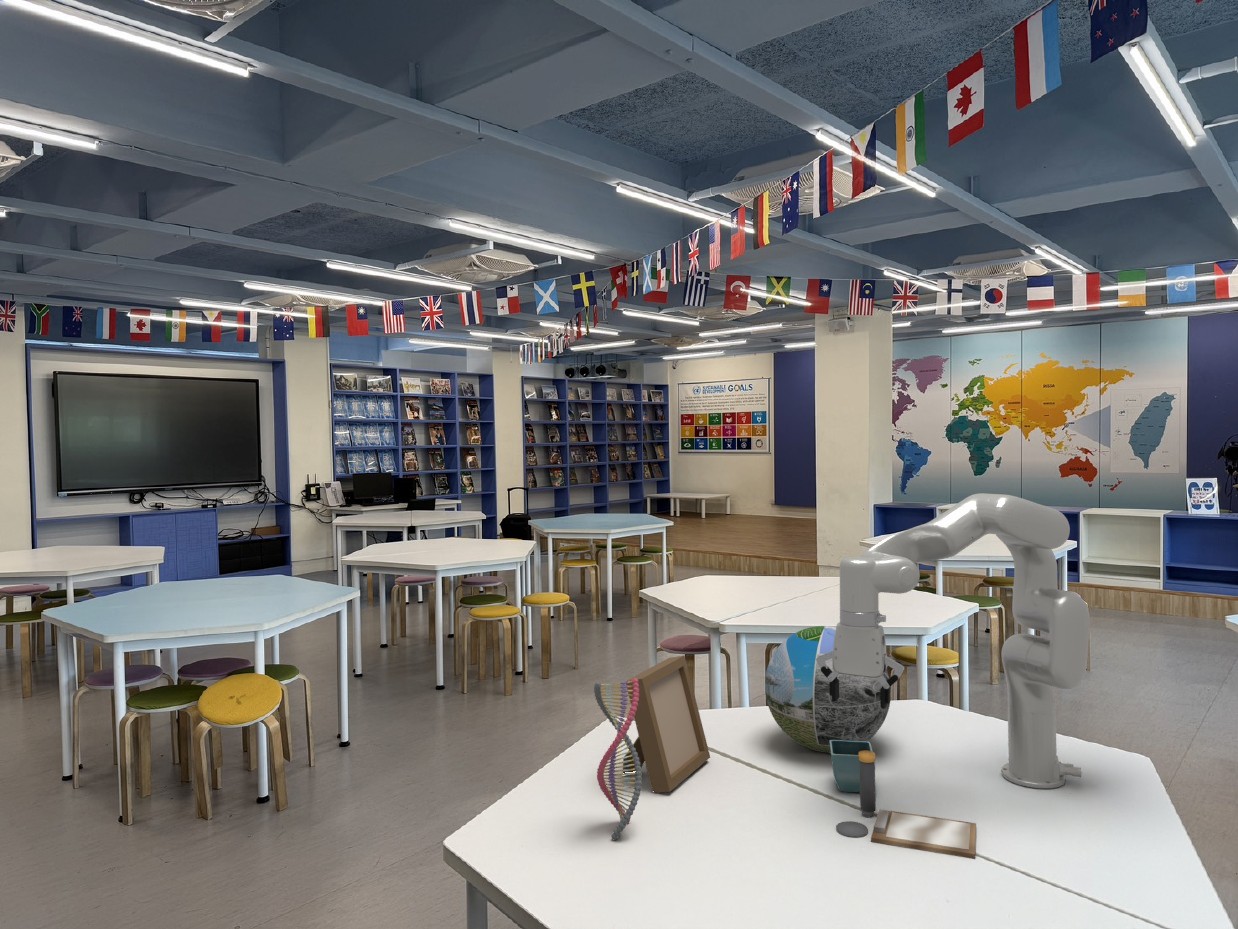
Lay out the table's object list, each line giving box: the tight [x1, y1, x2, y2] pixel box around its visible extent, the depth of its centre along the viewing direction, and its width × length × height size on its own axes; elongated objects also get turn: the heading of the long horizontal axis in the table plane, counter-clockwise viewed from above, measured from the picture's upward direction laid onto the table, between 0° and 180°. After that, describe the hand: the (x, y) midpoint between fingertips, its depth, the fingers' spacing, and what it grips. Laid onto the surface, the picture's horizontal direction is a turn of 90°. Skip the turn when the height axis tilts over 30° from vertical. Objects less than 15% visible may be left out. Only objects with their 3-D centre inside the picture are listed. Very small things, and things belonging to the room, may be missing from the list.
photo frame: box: [622, 654, 711, 794], centre depth 192 cm, size 15×22×25 cm
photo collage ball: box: [764, 625, 892, 754], centre depth 204 cm, size 30×30×30 cm
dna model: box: [593, 678, 643, 841], centre depth 163 cm, size 9×9×30 cm
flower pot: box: [829, 740, 874, 793], centre depth 180 cm, size 9×9×9 cm
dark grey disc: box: [835, 820, 869, 839], centre depth 161 cm, size 6×6×1 cm
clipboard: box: [870, 808, 977, 859], centre depth 158 cm, size 18×13×2 cm
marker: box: [859, 750, 877, 818], centre depth 167 cm, size 3×3×12 cm
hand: (859, 703), depth 167 cm, fingers open, 9 cm apart
